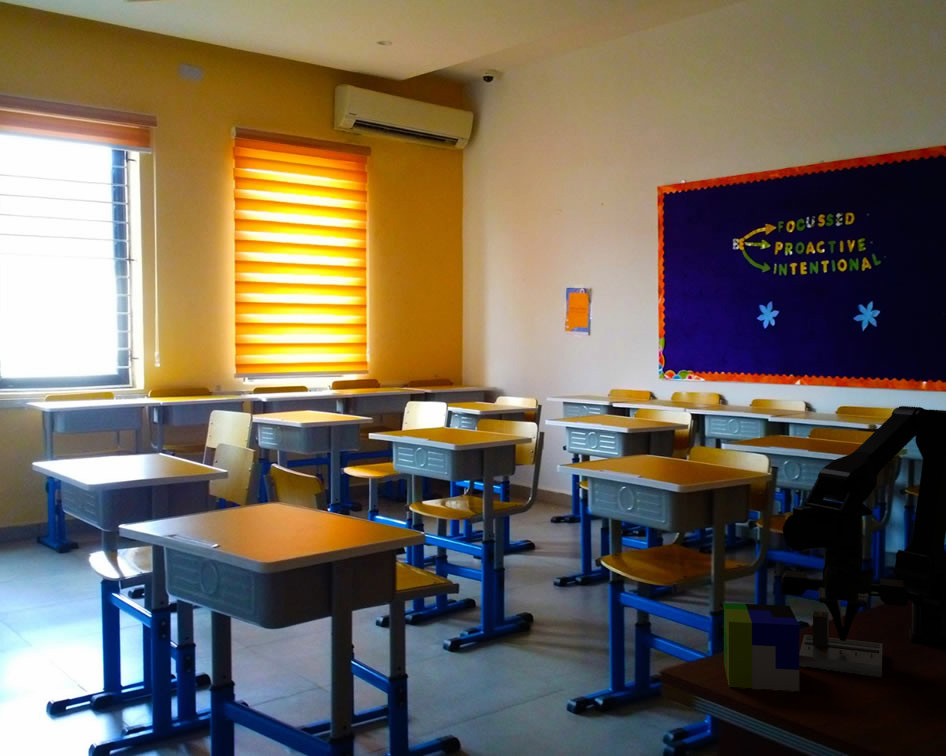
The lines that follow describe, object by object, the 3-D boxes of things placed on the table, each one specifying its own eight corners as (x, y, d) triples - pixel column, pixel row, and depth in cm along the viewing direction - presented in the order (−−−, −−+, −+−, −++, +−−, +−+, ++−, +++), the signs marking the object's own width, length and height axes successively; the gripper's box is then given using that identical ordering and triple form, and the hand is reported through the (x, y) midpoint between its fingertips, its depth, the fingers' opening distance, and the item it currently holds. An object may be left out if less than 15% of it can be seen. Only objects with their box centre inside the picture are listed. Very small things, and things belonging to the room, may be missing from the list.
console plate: (804, 645, 153) (804, 634, 153) (882, 654, 148) (882, 642, 148) (798, 666, 143) (798, 654, 143) (881, 677, 138) (881, 664, 138)
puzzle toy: (799, 692, 132) (799, 625, 132) (728, 688, 134) (728, 621, 134) (789, 668, 142) (789, 605, 142) (724, 664, 144) (723, 602, 144)
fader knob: (814, 639, 149) (814, 609, 149) (828, 641, 148) (828, 611, 148) (812, 645, 146) (812, 614, 146) (827, 647, 145) (827, 616, 145)
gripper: (777, 550, 142) (777, 648, 142) (908, 560, 134) (908, 664, 135) (784, 536, 152) (784, 627, 152) (906, 545, 144) (906, 641, 145)
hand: (843, 640), depth 146 cm, fingers closed
